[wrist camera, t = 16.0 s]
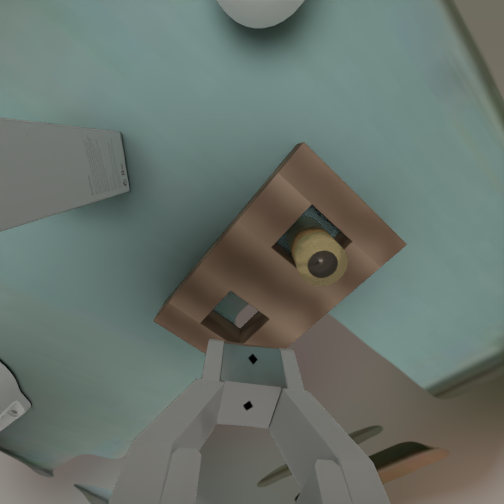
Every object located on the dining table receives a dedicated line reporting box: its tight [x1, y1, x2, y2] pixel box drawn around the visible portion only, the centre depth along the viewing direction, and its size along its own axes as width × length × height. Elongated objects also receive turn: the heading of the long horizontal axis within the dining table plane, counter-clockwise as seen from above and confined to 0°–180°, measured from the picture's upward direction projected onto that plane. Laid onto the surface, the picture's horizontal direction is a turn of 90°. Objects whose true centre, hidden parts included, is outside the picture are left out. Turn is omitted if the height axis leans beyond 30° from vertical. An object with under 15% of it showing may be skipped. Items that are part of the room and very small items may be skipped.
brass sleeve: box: [286, 217, 348, 286], centre depth 23 cm, size 4×4×8 cm
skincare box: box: [0, 118, 130, 232], centre depth 17 cm, size 8×6×15 cm
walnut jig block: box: [153, 142, 407, 354], centre depth 27 cm, size 24×14×4 cm, turn 140°
